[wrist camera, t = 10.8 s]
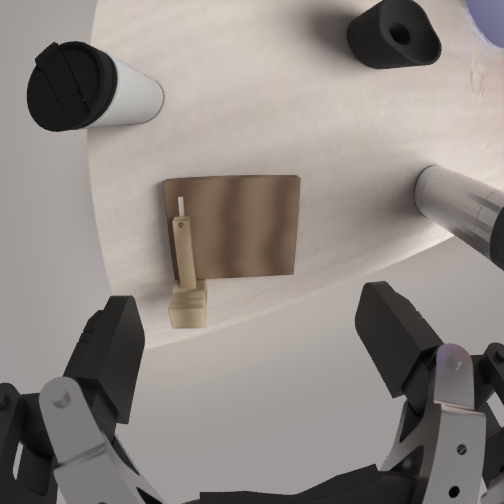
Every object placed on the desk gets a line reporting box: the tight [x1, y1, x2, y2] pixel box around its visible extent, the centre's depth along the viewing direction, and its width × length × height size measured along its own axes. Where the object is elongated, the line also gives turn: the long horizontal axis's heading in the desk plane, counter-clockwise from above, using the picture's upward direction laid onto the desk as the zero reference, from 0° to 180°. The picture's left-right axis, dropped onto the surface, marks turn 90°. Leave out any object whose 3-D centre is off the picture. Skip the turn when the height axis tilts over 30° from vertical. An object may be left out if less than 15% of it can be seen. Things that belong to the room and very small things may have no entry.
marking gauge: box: [168, 216, 207, 329], centre depth 35 cm, size 4×13×8 cm, turn 0°
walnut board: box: [164, 175, 300, 280], centre depth 37 cm, size 17×14×2 cm
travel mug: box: [27, 41, 164, 132], centre depth 20 cm, size 6×7×20 cm
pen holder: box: [347, 0, 442, 69], centre depth 23 cm, size 9×9×10 cm
